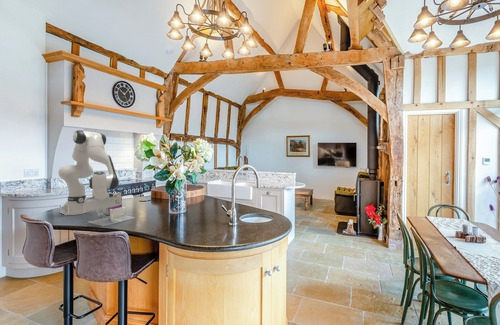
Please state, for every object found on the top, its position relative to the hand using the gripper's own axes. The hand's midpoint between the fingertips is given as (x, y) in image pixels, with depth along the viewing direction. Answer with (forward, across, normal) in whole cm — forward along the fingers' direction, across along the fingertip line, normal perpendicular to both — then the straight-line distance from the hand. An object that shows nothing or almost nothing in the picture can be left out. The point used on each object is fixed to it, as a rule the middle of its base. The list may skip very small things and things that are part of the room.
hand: (100, 215), depth 175 cm
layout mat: (+6, +11, +4) cm, 14 cm away
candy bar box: (+6, +24, +22) cm, 33 cm away
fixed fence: (+6, +18, +8) cm, 20 cm away
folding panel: (+5, +9, +2) cm, 11 cm away
